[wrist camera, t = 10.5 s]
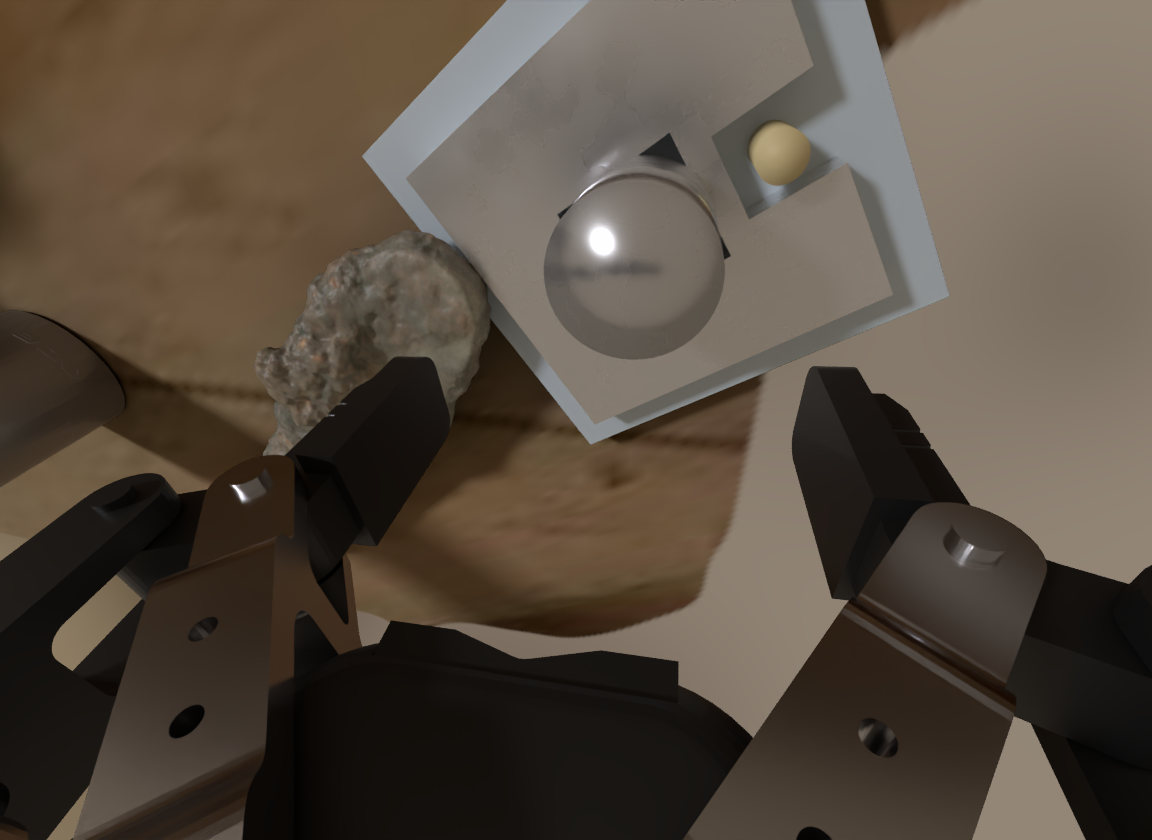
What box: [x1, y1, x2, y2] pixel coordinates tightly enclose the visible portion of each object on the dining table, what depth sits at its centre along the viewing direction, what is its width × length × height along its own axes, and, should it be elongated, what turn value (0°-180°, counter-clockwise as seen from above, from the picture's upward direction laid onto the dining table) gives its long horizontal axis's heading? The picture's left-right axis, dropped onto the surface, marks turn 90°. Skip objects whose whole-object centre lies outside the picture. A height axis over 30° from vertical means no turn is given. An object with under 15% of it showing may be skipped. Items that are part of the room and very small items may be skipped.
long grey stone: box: [254, 230, 491, 456], centre depth 31 cm, size 35×5×10 cm
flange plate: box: [406, 0, 893, 424], centre depth 17 cm, size 14×14×7 cm
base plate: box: [362, 0, 949, 444], centre depth 19 cm, size 18×18×4 cm
